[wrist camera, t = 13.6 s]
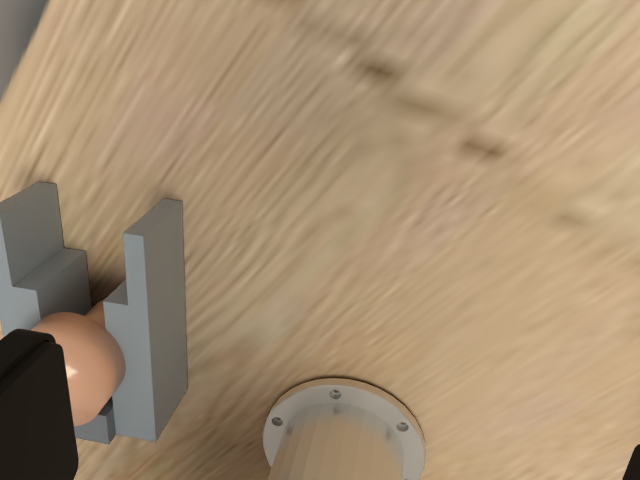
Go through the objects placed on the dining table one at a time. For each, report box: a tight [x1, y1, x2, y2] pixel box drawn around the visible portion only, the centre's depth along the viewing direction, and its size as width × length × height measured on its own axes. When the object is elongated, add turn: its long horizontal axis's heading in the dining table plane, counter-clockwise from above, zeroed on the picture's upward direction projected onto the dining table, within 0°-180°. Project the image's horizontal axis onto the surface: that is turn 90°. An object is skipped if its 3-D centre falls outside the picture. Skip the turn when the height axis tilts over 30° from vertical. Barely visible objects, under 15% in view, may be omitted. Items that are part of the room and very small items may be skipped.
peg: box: [30, 299, 126, 426], centre depth 41 cm, size 7×7×8 cm
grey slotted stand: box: [0, 182, 188, 444], centre depth 41 cm, size 16×11×7 cm, turn 176°
